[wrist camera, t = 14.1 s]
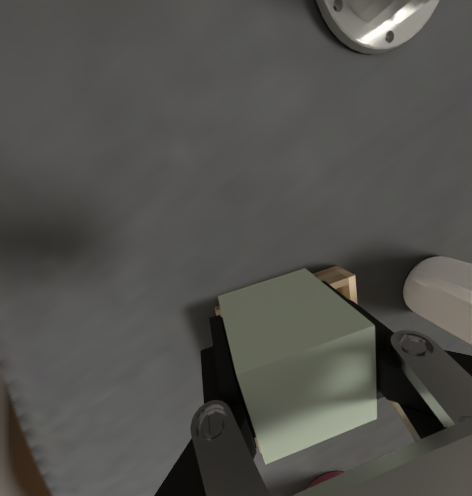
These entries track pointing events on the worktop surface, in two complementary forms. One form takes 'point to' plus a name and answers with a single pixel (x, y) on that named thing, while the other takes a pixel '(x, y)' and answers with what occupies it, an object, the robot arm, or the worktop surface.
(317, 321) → the sage block
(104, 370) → the worktop surface
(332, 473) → the plant pot
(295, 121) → the worktop surface
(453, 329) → the cup
